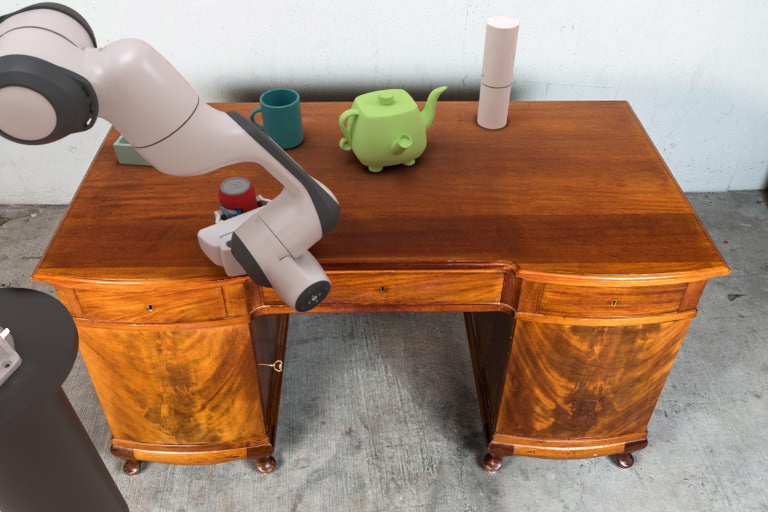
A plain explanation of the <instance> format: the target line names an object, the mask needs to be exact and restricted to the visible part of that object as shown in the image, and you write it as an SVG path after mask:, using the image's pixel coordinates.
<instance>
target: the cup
mask: <svg viewBox="0 0 768 512" xmlns="http://www.w3.org/2000/svg"><path fill="white" fill-rule="evenodd" d="M301 106H302V105H301V97H300V93H298V91H296V90H294V89H291V88H285V87H283V88H281V87H279V88H273V89H270V90H267V91H265V92H264V93H262V94H261V95H260V97H259V106H258V107H255V108H254V109H252V110H251V112H250V114H249V120H250V121H251V122H253V123H254V124H255V125H256V126H257V127H258V128H259V129H260V130H261V131H262V132H263V133H265V134H266V135H267V136H269V137H270V138H271V139H272V140H273V141H274V142H275V143H276V144H277V145H278V146H279V147H281V148H282V149H283V150H290V149H293V148H296V147H297V146H300V145H301V143H302V142H303V141H304V138H305V135H304V125H303V117H302V107H301ZM258 113H260V114H261V119H262V120H261V121H262V124H259V123H257V122H256V120H255V116H256V114H258Z"/></svg>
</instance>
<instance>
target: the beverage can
mask: <svg viewBox="0 0 768 512" xmlns="http://www.w3.org/2000/svg"><path fill="white" fill-rule="evenodd" d="M217 196H218V201H219V206H220V210H222V211H223V212H224V213H225V218H226V220H228V219H230V218H233V217H236V216H238V215H241V214H243V213H246V212H249V211H251V210H254V209H257V208H258V205H257V200H256V196H257V195H256V190H255V187H254V186H253V185H252V183H250V180H249V179H248V178H246V177H243V176H232V177H228V178H226V179H225V180H223V181H222V183H220V188H219V190H218V193H217Z"/></svg>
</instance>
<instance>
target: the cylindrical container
mask: <svg viewBox="0 0 768 512" xmlns="http://www.w3.org/2000/svg"><path fill="white" fill-rule="evenodd" d="M519 31H520V20H519V19H518V18H516V17H514V16H510V15H503V14H501V15H500V14H499V15H493V16H490V17H489V18H487V20H486V26H485V35H484V48H483V56H482V57H483V58H482V68H481V77H480V88H479V99H478V110H477V119H476V122H477V124H478V125H479V126H480V127H482V128H485V129H488V130H497V129H502V128H504V127H505V126H506V125H507V123H508V122H507V121H508V114H509V106H510V98H511V92H512V91H511V90H512V84H513V75H514V67H515V59H516V53H517V45H518V37H519Z"/></svg>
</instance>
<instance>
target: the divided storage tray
mask: <svg viewBox="0 0 768 512" xmlns="http://www.w3.org/2000/svg"><path fill="white" fill-rule="evenodd" d="M112 146H113V149H114V152H115V155H116V158H117V160H118V164H122V165H134V166H149V167H153V166H152V165H151V164H150V163H148V162H147V161H146V160H145V159H144V158H143V157H142V156H141V155H140V154H139V153H138V152H137V151H136V150H135V149H134V148H133V147H132V146H131V145H130V144H129V142H128V141H127V140H126V139H125V138H124V137H123V136H122V135H121V134H120V136H119V137H118V138H117V139H116V140H115V142H114V143H113V144H112Z"/></svg>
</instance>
